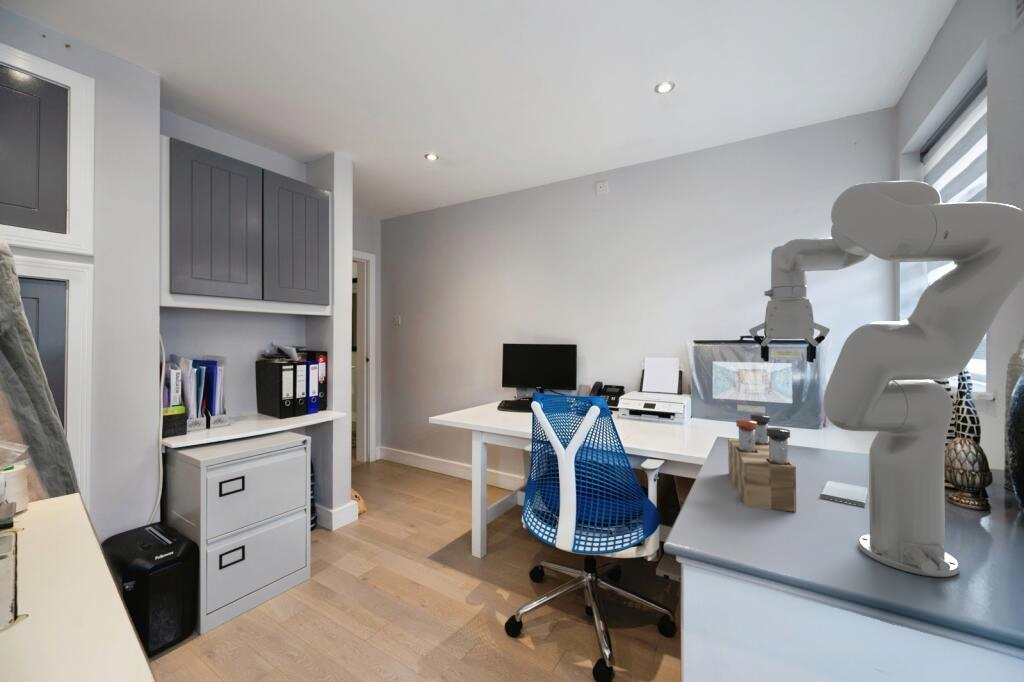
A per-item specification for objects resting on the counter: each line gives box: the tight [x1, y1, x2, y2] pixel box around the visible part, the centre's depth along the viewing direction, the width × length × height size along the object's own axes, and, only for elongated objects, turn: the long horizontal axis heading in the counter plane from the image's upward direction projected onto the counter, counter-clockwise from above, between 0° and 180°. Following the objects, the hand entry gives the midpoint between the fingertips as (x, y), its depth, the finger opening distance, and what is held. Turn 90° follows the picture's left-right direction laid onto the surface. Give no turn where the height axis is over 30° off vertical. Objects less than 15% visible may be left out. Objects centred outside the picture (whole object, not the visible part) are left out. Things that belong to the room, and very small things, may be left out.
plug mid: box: [735, 418, 757, 453], centre depth 105 cm, size 5×5×12 cm
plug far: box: [749, 413, 771, 445], centre depth 112 cm, size 5×5×12 cm
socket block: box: [727, 438, 797, 513], centre depth 104 cm, size 24×10×10 cm, turn 160°
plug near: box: [766, 427, 791, 465], centre depth 95 cm, size 5×5×12 cm
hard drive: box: [820, 480, 869, 507], centre depth 100 cm, size 2×8×12 cm
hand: (787, 361), depth 106 cm, fingers open, 9 cm apart
